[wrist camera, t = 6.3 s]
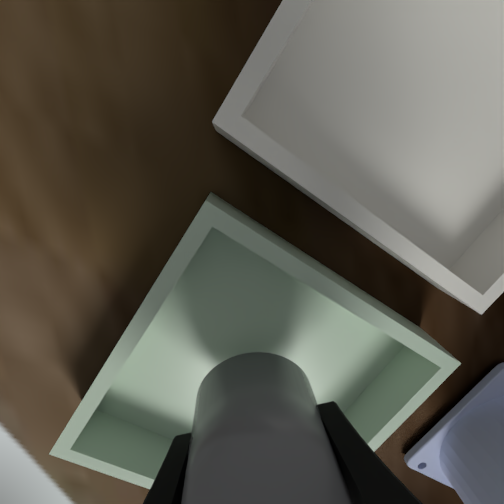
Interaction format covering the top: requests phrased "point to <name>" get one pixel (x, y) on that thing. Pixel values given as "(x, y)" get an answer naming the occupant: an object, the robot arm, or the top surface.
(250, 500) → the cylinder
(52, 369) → the top surface
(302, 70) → the bin
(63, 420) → the top surface
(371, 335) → the bin
